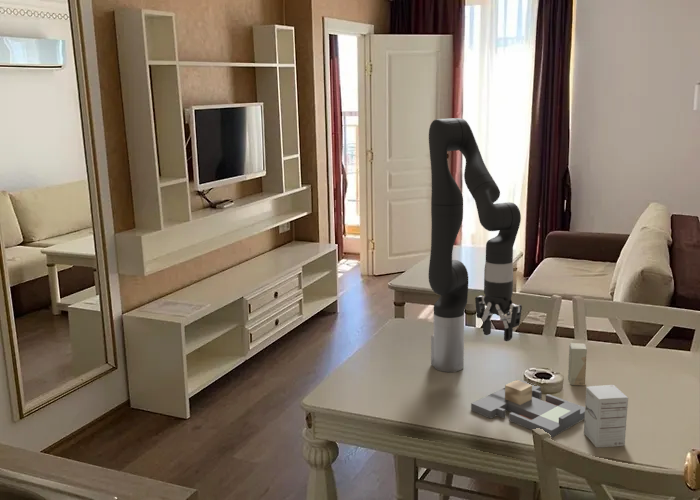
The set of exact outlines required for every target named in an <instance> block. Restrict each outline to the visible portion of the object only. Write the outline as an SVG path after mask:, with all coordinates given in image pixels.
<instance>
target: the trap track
mask: <svg viewBox="0 0 700 500" xmlns="http://www.w3.org/2000/svg"><path fill="white" fill-rule="evenodd" d="M519 381H521V382H524V383H527V382H528V381H526V380H522V379H520V380H519ZM529 383H530V382H529ZM529 383H527V384H529ZM531 384H532V383H531ZM531 384H530V385H531ZM534 385H535V384H534ZM534 385H532V399H531V400H529V401H527V402H525V403H523V404H521V405H519V404H516V403H514V402H511V401H509V400H506V399H505V387H504V388H501V389H499V390H497V391H494V392H493V393H490V394H488V395H486V396H484V397H482V398H479V399H478V400H474V401H473V402H471V403H470V410H471V411H472V412H474V413H476V414H479V415H480V416H484V417H486V418H488V419H493V418H495V417H496V416H498V417H500V418H502V419H503V418H506V411H508V412H509V413H508V414H509V415H508V416H509V417H508V418H509V419H508V420H509V422H512V423H514V424H516V425H519V426H521V427H523V428H525V429H526V428H527V429H529V430H531V431H533V430H532V429H536V428H540V429H543V430H544V431H545V432H547V433H549V434H550V435H551V437H552V438H554V437H555V436H557V435H559V434H561V433H563V432H564V431H565V430H568V429H570V428H571V427H572V426H574V425H576V424H578V423H580V422H581V421H583V420H584V418H585V406H583V405H579V404H577V403H575V402H572V401H569V400H567V399H563V398H561V397H558V396H555V395H552V394H550V393H549V394H548V393H547V394H546V395H545V400H542V391H541V388H542V387H541V386H539V385H537V386H534Z"/></svg>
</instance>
